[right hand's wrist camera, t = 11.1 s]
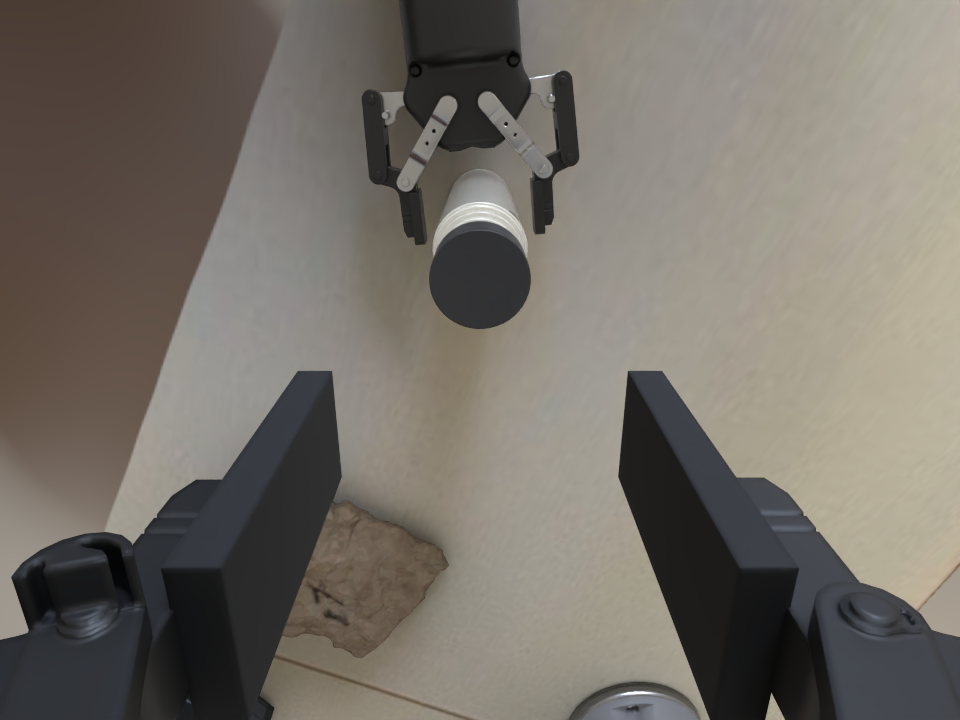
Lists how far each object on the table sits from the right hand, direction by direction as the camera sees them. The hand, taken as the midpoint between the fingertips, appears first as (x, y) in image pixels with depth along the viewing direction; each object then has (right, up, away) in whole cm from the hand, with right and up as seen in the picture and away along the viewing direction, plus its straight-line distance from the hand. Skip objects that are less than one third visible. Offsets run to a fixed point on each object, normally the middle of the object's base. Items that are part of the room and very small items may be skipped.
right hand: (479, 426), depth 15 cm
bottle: (0, +14, +36) cm, 39 cm away
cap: (0, +5, +13) cm, 14 cm away
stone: (-15, -16, +48) cm, 53 cm away
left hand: (0, +10, +31) cm, 33 cm away
